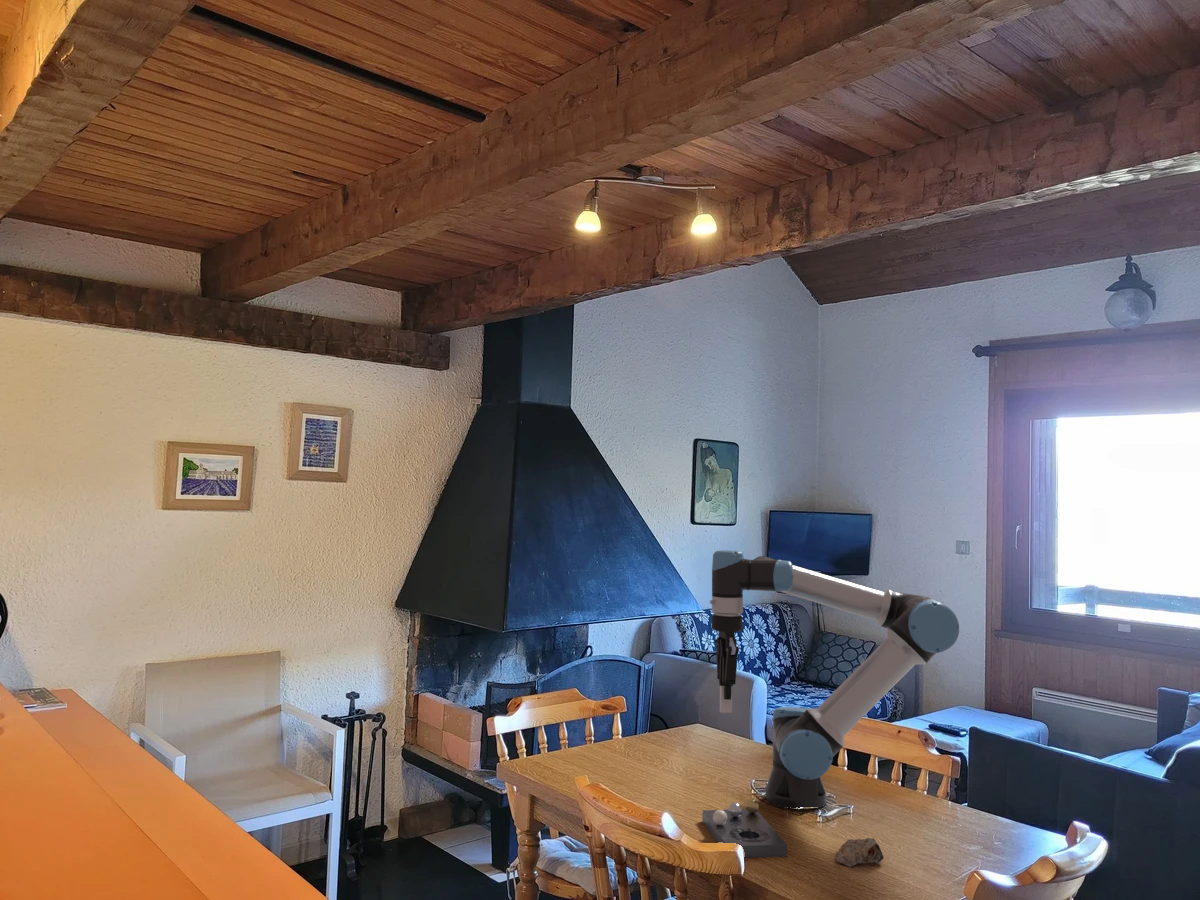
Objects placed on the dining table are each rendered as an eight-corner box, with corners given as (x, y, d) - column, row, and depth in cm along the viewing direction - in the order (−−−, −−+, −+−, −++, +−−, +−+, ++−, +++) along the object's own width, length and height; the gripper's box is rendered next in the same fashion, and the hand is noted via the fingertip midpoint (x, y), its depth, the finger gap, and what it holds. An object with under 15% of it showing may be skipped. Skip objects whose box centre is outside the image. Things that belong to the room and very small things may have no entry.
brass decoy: (756, 810, 209) (756, 796, 210) (760, 815, 206) (760, 801, 206) (743, 810, 209) (743, 796, 209) (747, 815, 206) (747, 801, 206)
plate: (702, 821, 208) (702, 810, 209) (755, 819, 210) (755, 809, 210) (727, 858, 187) (727, 846, 187) (786, 856, 188) (787, 844, 188)
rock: (874, 853, 192) (828, 843, 192) (881, 829, 191) (835, 819, 191) (884, 880, 183) (836, 869, 184) (891, 855, 182) (843, 844, 182)
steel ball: (739, 814, 206) (740, 800, 206) (743, 819, 203) (744, 805, 203) (726, 814, 206) (726, 800, 206) (730, 819, 203) (730, 805, 203)
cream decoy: (725, 822, 201) (725, 807, 201) (728, 827, 198) (729, 812, 198) (711, 822, 201) (711, 807, 201) (714, 827, 198) (715, 812, 198)
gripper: (705, 610, 222) (704, 706, 221) (719, 617, 209) (717, 718, 208) (734, 610, 223) (733, 705, 222) (749, 617, 210) (748, 718, 209)
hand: (725, 711), depth 215 cm, fingers closed
